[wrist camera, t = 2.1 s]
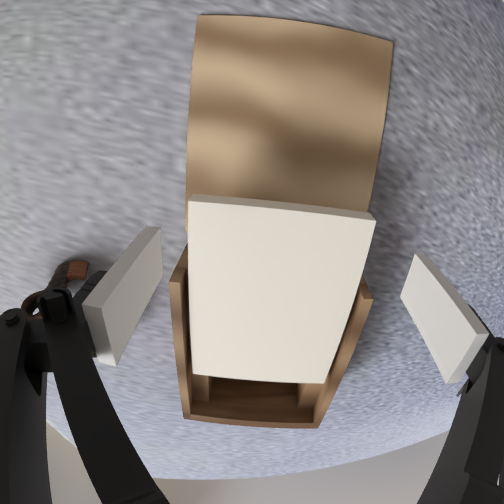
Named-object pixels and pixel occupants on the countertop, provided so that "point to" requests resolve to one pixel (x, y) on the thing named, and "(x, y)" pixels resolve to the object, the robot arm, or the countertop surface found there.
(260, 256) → the cover plate
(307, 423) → the walnut box
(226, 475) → the countertop surface
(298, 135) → the cork mat
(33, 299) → the pottery mug
